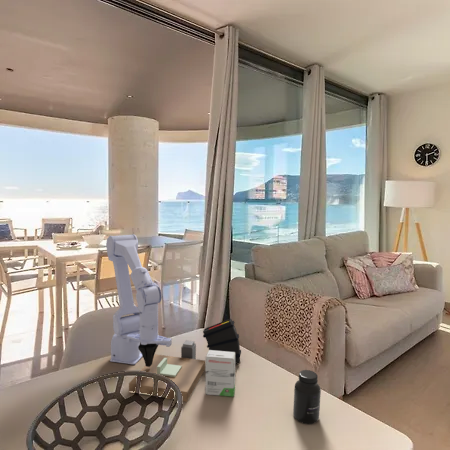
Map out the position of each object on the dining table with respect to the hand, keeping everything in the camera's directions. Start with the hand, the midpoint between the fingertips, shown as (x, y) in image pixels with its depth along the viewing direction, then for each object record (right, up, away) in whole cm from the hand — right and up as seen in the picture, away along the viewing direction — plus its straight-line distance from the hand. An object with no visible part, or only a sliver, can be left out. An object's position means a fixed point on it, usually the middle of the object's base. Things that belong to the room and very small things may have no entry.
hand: (148, 365), depth 111 cm
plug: (+11, -3, +11) cm, 16 cm away
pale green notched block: (+7, -1, -1) cm, 7 cm away
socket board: (+7, -4, -1) cm, 8 cm away
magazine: (+23, -4, +13) cm, 27 cm away
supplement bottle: (+46, -7, -18) cm, 50 cm away
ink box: (+23, -5, -7) cm, 24 cm away
